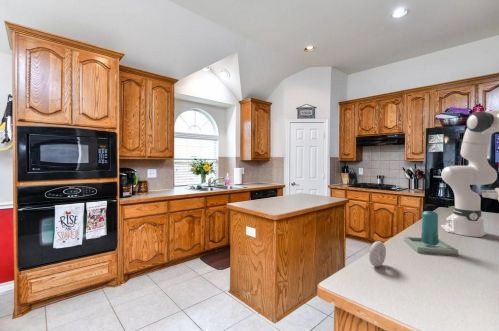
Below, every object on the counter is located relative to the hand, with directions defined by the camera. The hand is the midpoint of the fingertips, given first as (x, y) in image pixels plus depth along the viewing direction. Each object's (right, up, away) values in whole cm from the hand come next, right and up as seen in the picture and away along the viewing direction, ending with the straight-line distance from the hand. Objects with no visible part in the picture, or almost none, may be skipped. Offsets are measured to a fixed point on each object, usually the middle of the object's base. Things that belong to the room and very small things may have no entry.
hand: (481, 193), depth 108 cm
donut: (-50, -28, -9) cm, 58 cm away
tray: (-15, -28, +11) cm, 33 cm away
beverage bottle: (-15, -27, +11) cm, 33 cm away
